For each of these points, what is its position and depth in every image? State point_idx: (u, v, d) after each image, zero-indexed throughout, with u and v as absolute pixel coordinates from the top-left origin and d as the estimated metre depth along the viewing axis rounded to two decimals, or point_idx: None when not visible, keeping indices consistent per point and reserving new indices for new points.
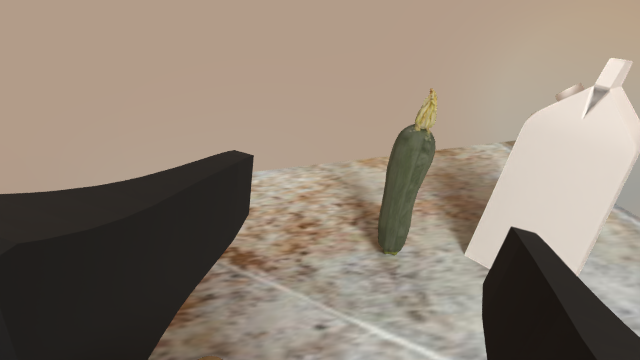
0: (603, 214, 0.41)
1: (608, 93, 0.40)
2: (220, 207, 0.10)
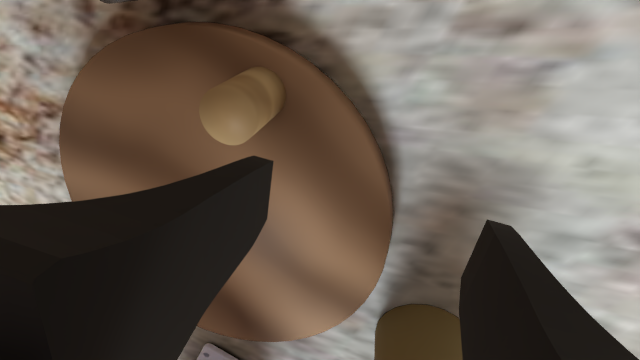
0: None
1: None
2: (242, 214, 0.10)
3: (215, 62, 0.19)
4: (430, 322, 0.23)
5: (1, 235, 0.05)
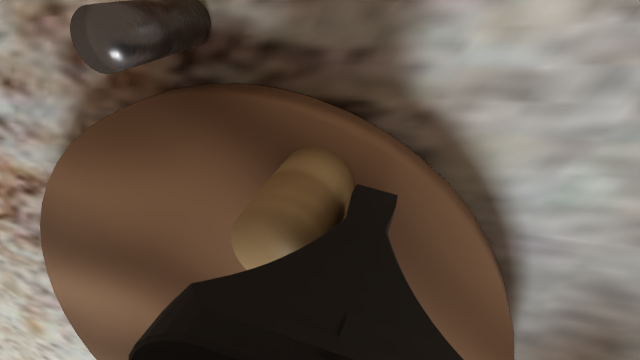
0: None
1: None
2: None
3: (245, 142, 0.13)
4: None
5: (272, 329, 0.04)
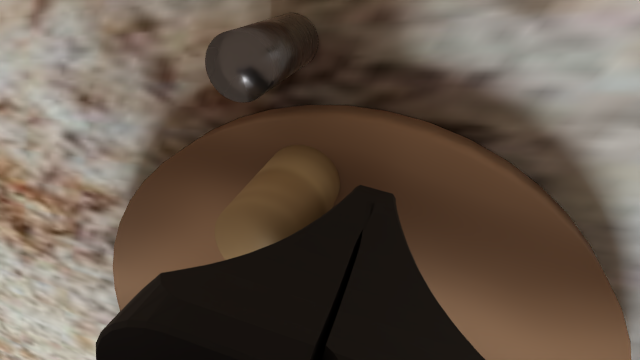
0: None
1: None
2: None
3: (230, 175, 0.14)
4: None
5: (236, 316, 0.04)
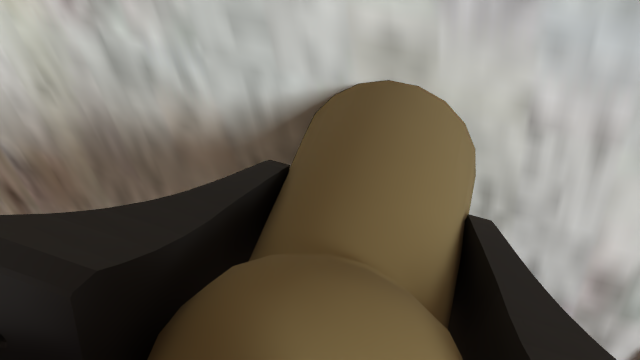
0: None
1: None
2: (260, 219, 0.10)
3: None
4: None
5: (34, 247, 0.05)
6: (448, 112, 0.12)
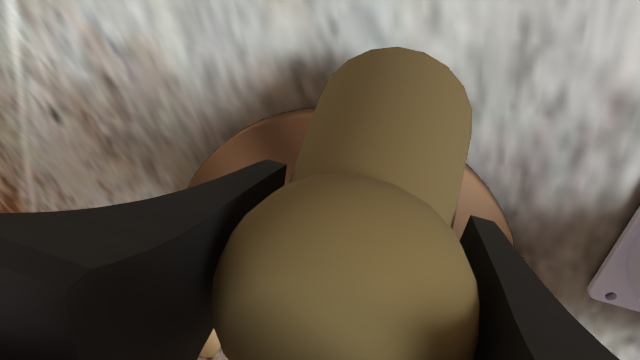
0: None
1: None
2: None
3: None
4: None
5: (29, 245, 0.05)
6: (449, 76, 0.14)
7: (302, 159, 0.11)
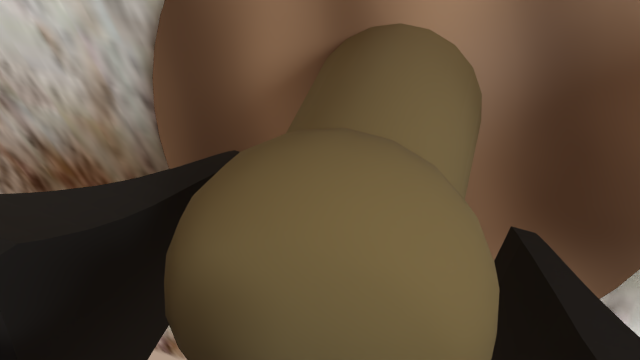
0: None
1: None
2: None
3: None
4: None
5: None
6: (457, 54, 0.13)
7: (288, 130, 0.09)
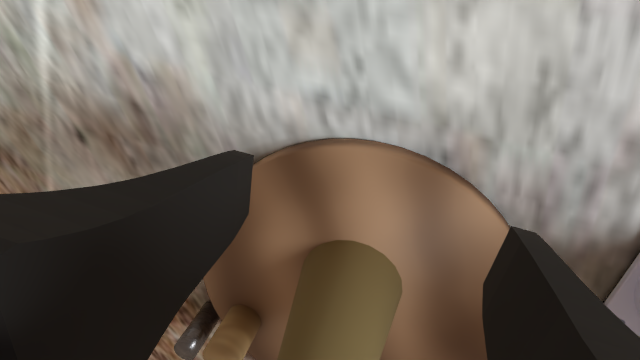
0: None
1: None
2: (220, 207, 0.10)
3: (259, 345, 0.29)
4: None
5: None
6: (384, 263, 0.22)
7: (287, 340, 0.19)
